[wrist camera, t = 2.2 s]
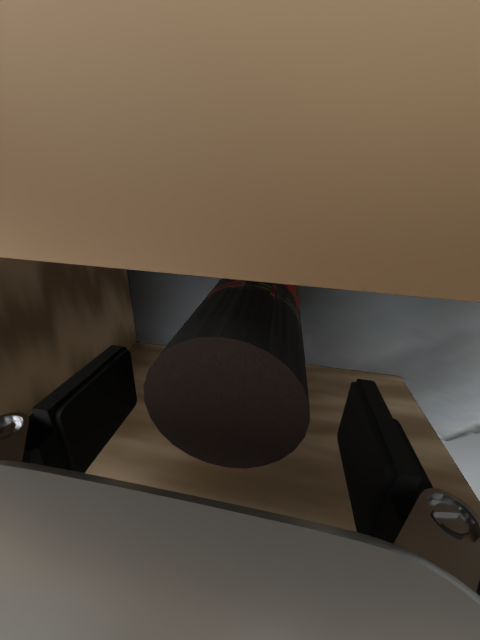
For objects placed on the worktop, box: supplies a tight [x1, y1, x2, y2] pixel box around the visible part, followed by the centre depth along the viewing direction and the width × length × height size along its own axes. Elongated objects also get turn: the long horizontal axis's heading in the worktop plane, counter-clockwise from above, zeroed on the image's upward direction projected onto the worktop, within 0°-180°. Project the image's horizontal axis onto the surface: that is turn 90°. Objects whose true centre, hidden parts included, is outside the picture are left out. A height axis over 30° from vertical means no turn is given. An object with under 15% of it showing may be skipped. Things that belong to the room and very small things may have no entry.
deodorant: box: [144, 278, 310, 469], centre depth 16 cm, size 6×6×15 cm
